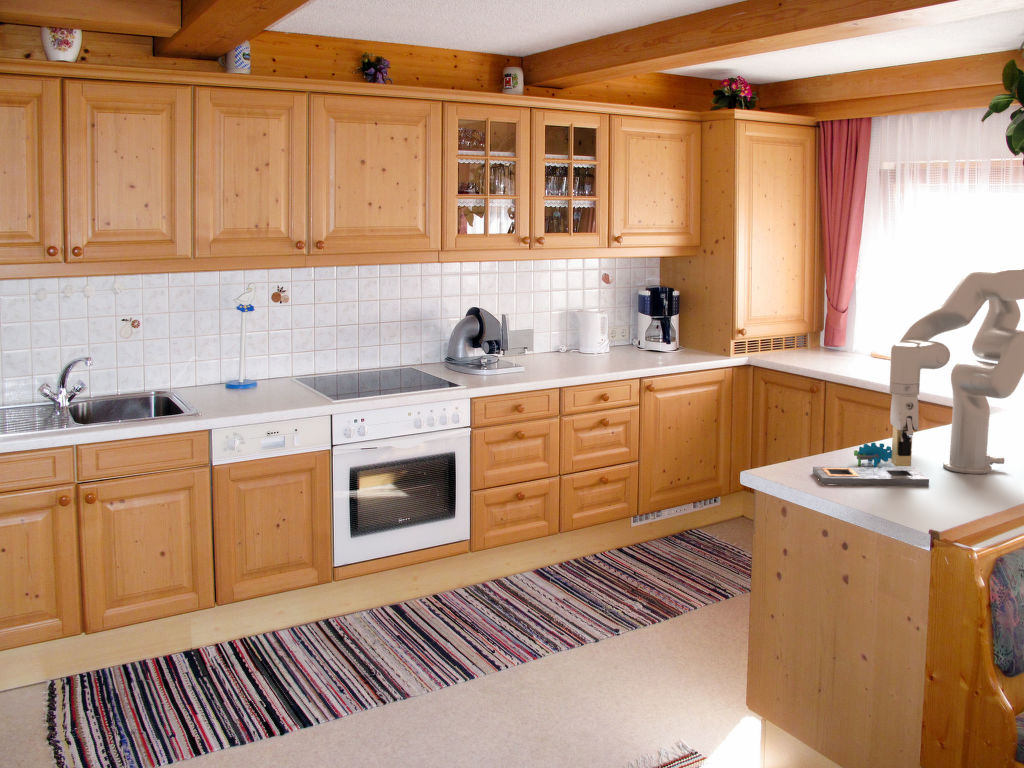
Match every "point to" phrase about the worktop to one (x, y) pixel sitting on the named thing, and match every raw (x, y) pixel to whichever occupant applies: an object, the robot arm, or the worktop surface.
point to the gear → (873, 453)
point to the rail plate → (870, 476)
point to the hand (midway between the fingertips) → (901, 452)
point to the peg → (896, 458)
